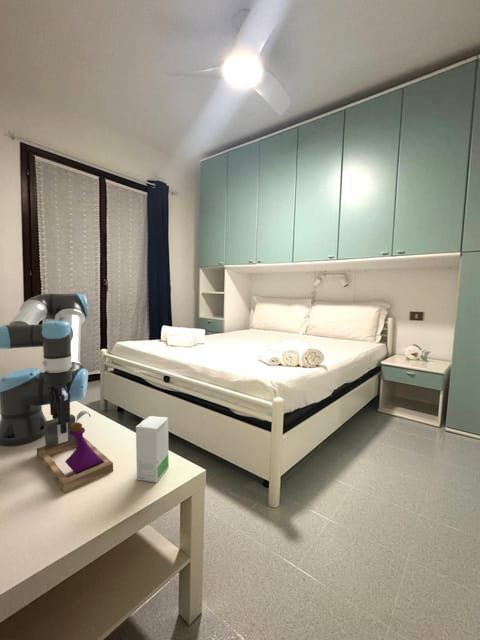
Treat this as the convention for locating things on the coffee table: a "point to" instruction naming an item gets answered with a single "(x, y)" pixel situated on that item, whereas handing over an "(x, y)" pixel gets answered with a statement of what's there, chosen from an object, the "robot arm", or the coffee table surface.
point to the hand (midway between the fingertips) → (61, 439)
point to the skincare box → (152, 448)
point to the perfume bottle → (81, 449)
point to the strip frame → (55, 448)
